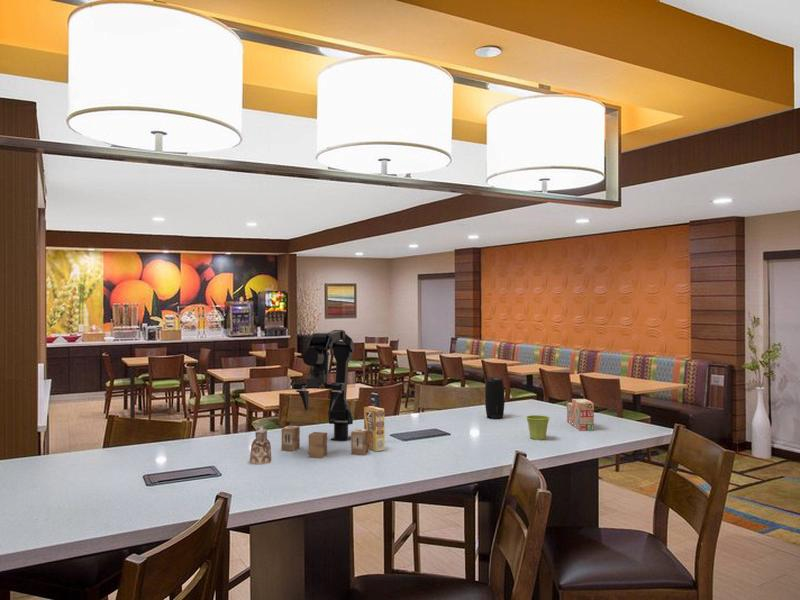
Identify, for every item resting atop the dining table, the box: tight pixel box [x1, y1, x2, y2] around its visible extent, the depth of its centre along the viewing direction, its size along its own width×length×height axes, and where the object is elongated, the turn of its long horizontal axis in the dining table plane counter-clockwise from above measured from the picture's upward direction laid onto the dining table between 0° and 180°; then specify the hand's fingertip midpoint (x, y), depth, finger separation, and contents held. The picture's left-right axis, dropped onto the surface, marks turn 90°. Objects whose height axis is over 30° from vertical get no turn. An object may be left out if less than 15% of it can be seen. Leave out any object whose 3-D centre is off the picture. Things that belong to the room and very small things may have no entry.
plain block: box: [308, 431, 328, 459], centre depth 210 cm, size 5×5×8 cm
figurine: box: [249, 424, 272, 465], centre depth 202 cm, size 7×7×12 cm
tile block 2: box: [350, 428, 370, 456], centre depth 215 cm, size 5×5×8 cm
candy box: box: [363, 405, 386, 452], centre depth 222 cm, size 9×4×15 cm, turn 33°
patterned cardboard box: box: [566, 398, 595, 432], centre depth 268 cm, size 21×6×12 cm, turn 179°
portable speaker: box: [484, 376, 506, 420], centre depth 290 cm, size 9×9×20 cm
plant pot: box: [525, 414, 551, 441], centre depth 241 cm, size 9×9×9 cm
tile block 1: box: [281, 425, 301, 452], centre depth 221 cm, size 5×5×8 cm
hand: (318, 410), depth 215 cm, fingers open, 9 cm apart
